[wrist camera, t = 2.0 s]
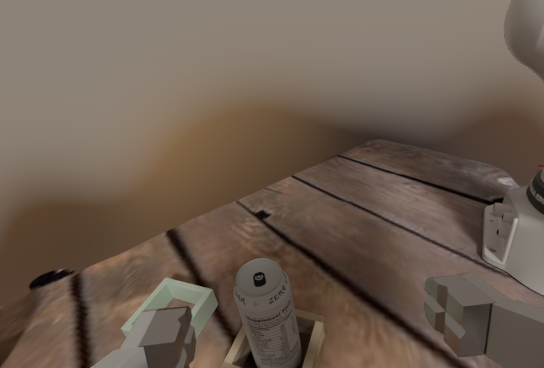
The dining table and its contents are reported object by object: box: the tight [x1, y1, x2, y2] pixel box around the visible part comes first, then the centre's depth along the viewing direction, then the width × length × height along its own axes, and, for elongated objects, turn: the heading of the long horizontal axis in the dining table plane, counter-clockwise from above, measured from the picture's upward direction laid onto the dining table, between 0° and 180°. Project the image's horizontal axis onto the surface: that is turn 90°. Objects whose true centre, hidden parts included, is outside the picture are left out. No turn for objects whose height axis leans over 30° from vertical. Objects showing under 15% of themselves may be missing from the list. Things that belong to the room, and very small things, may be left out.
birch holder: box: [221, 308, 327, 368], centre depth 35 cm, size 10×10×4 cm
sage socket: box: [121, 278, 218, 339], centre depth 42 cm, size 9×9×4 cm
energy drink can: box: [233, 258, 302, 368], centre depth 32 cm, size 6×6×15 cm
